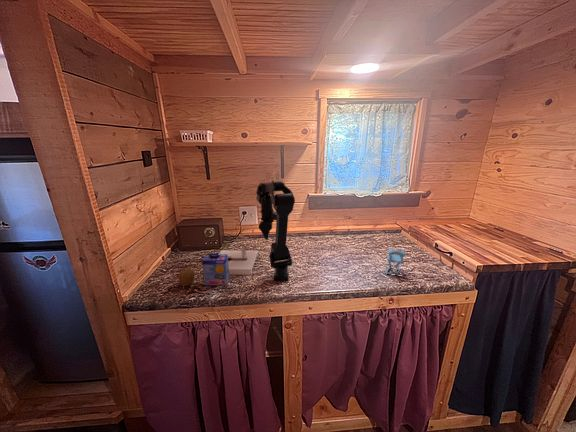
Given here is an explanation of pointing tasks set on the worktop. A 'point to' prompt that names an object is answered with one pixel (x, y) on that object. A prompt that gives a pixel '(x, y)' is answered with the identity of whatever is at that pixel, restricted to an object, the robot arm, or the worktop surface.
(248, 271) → the keyhole board
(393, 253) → the chair
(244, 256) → the steel peg
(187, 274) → the fruit
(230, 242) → the worktop surface
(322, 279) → the worktop surface
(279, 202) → the robot arm
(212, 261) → the ink cartridge box
